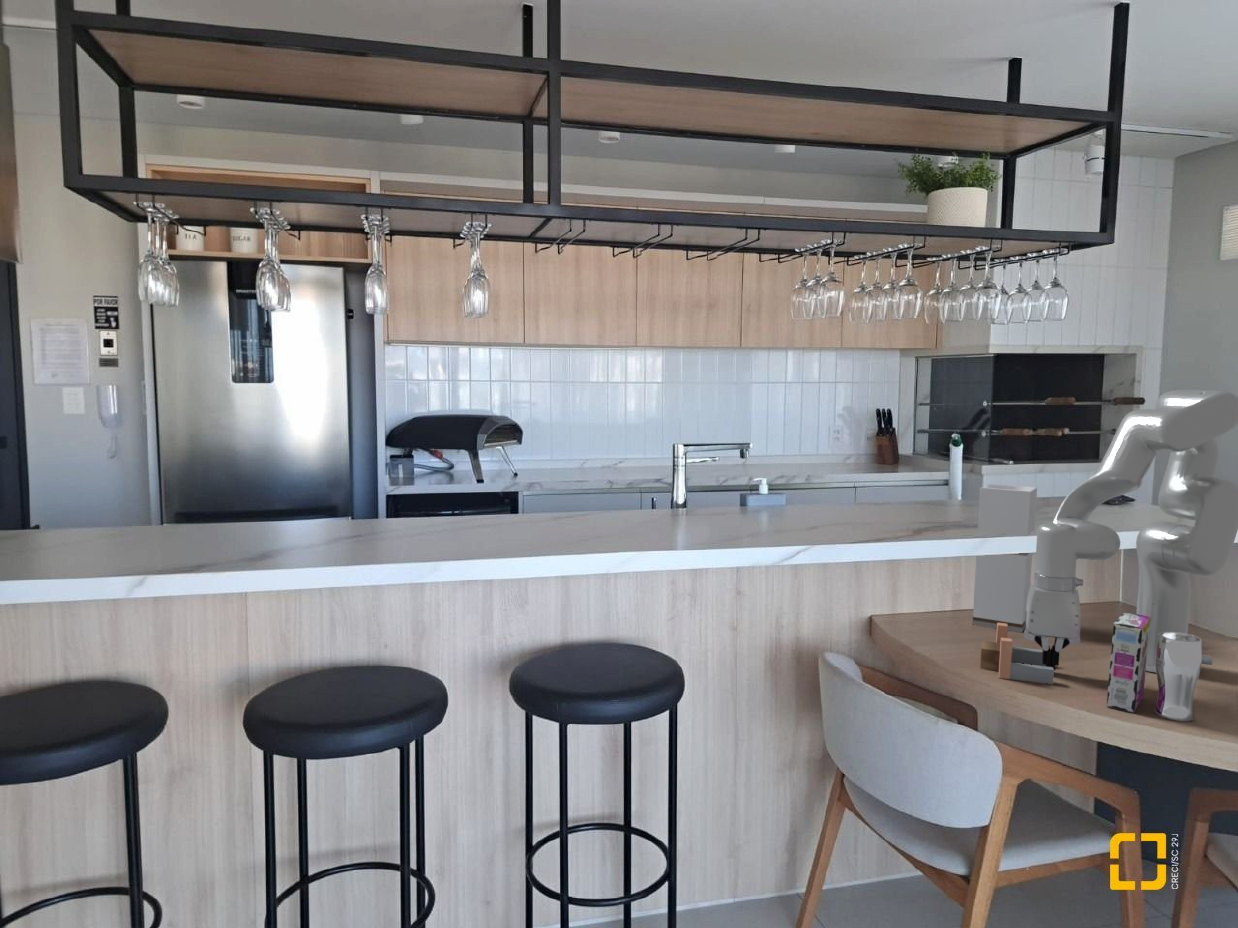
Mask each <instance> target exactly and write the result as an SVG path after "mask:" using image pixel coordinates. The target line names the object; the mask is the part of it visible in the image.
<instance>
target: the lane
mask: <svg viewBox="0 0 1238 928" xmlns="http://www.w3.org/2000/svg"><path fill="white" fill-rule="evenodd" d="M1008 631H1009V630H1008V625H1007V624H1006V623H997V629H996V636H995V637H996V639H995V643H1000V659H999V671H998V679H1003V678H1004V679H1005V680H1014V681H1015V680H1016V681H1023V682H1031V683H1039V684H1046V683H1048V684H1047V685H1054V677H1055V676H1054V673H1055V670H1054V669H1053V667H1046V666H1045V664H1042V653H1043V649H1037V648H1036V649H1035V648H1026V647H1020V646H1019V647H1018V646H1013V640H1012V638H1008ZM1011 653H1012V662H1011ZM1014 662H1016V663H1014ZM1022 663H1024V664H1022ZM1031 664H1032V665H1031Z"/></svg>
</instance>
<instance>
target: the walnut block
mask: <svg viewBox="0 0 1238 928" xmlns="http://www.w3.org/2000/svg"><path fill="white" fill-rule="evenodd" d="M999 659H1000V643H996V641H985V640H981V650H980V665H979V666H980V667H979V668H980V669H984V670H991V671H996V672H997V671H998V672H999ZM1011 662H1012V653H1011ZM1012 663H1013V662H1012Z"/></svg>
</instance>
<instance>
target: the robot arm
mask: <svg viewBox="0 0 1238 928" xmlns="http://www.w3.org/2000/svg"><path fill="white" fill-rule="evenodd" d="M1237 425H1238V395H1236V394H1235V393H1232V392H1230V391H1228V390H1227V391H1225V390H1215V389H1213V390H1211V389H1209V390H1208V389H1207V390H1205V389H1176V390H1170V391H1167V392H1164V393H1162V394H1161V395H1160V396H1158V398H1157V400H1156V403H1155V409H1154V408H1153V409H1152V408H1142V409H1141V408H1139V409H1136V410H1135V409H1134V410H1132V411H1129V412H1128V413H1126V414H1125V416H1124V417H1123V418H1122V420H1121V422H1120V424H1119V425H1118V428H1117V429H1116V431H1115V433H1114V435H1113V438H1112V439H1111V441H1110V442H1111V443H1110V445H1109V446H1108V448H1107V450H1106V451H1105V454H1104V457H1103V458H1102V460H1101V462H1100V464H1099V466H1098V468H1097V470H1096V471H1095V472H1094V473H1093V474H1092V475H1090V476H1089V477H1087V478H1085V479H1084V480H1083V481H1082V482H1080V483H1079V484H1078V485H1077V486H1076V487H1075V488H1073V489H1072V490H1071V491H1070V492H1069V493H1068V495H1067V496H1066V497H1065V498H1064V499H1063V501H1062V502H1061V504H1060V505H1059V508H1058V510H1057V512H1056V514H1055V515H1054V518H1053V520H1052V522H1047V523H1043V524H1040V525H1039V526H1038V528H1037V532H1036V545H1035V546H1036V550H1035V566H1034V567H1035V569H1034V572H1035V573H1034V585H1030V589H1029V593H1028V598H1027V604H1026V613H1025V629H1024V630H1023V637H1024V639H1026V640H1029V641H1033V642H1035V643H1037V644H1038V645H1039V646H1040V647H1041V648H1042V649H1041V650H1043V653H1042V664H1045V666H1046V667H1053V669H1054V671H1056V666H1059V665H1060V664H1059V663H1060V652H1062V650H1063V649H1064V648H1065V649H1066V647H1067V646H1070V645H1078V644H1081V642H1082V641H1081V605H1080V604H1081V602H1080V596H1079V590H1078V589H1076V588H1077V587H1082V586H1084V579H1082V578H1078V577H1077V576H1076V573H1077V560H1078V559H1080V560H1090V561H1106V560H1109V559H1111V558H1112V557H1114V556H1115V555H1117V554H1118V552H1119V550H1120V548H1121V538H1120V536H1119V534H1118V533H1117V531H1116V530H1114V529H1113V528H1111V527H1109V526H1107V525H1104V524H1101V523H1095V522H1093V521H1088V519H1089V517H1090V516H1091V515H1092V513H1093V512H1094V511H1095V510H1096V509H1097V508H1098V507H1099V506H1100V505H1102V504H1103V503H1105V502H1107V501H1109V500H1111V499H1114V498H1116V497H1121V496H1124V495H1126V494H1128V493H1131V492H1135V491H1136V490H1138V489H1139V488H1140V487H1141V486H1142V484H1143V482H1144V480H1145V477H1146V476H1147V474H1148V472H1149V470H1150V468H1151V466H1152V464H1153V462H1154V459H1155V457H1156V456H1157V454H1158V452H1168V453H1169V452H1170V455H1169V459H1168V463H1167V466H1166V469H1165V473H1164V476H1163V479H1162V483H1161V485H1160V488H1159V493H1158V499H1157V504H1158V507H1159V510H1161V511H1162V512H1163V513H1165V514H1167V515H1169V516H1173V517H1176V518H1179V519H1180V518H1181V519H1184V520H1185V519H1186V520H1191V521H1194V525H1193V526H1189V525H1187V524H1182V523H1177V522H1171V521H1163V520H1161V521H1160V520H1159V521H1154V522H1150V523H1148V524H1145V526H1143V527H1142V528H1141V529H1140V530H1139V531H1138V534H1137V536H1136V542H1135V543H1136V545H1135V547H1136V548H1135V549H1136V556H1137V563H1138V588H1137V589H1138V590H1137V600H1136V601H1137V603H1136V613H1135V614H1138V615H1143V616H1148V617H1151V620H1150V630H1149V641H1148V651H1147V660H1146V672H1150V673H1153V674H1154V673H1155V674H1157V672H1156V650H1157V644H1158V638H1159V633H1160V632H1165V631H1171V632H1181V633H1186V634H1189V633H1188V631H1189V620H1190V619H1189V617H1190V608H1191V607H1190V606H1191V599H1192V598H1191V596H1192V586H1191V581H1190V578H1189V575H1188V573H1189V574H1192V575H1196V576H1197V575H1198V576H1202V577H1209V576H1214V575H1216V574H1218V573H1220V572H1221V571H1222V570H1223V569H1224V567H1225V566H1226V564H1227V563H1228V561H1229V558H1230V555H1231V552H1232V549H1233V547H1234V543H1235V540H1236V537H1237V533H1238V485H1237V484H1236V483H1234V482H1233V481H1232V480H1229V479H1227V478H1222V477H1215V473H1216V468H1217V465H1218V461H1219V448H1218V444H1217V442H1216V438H1218V437H1220V436H1223V435H1225V434H1227V433H1228V432H1230V431H1231V430H1233V429H1234V428H1235V427H1236V426H1237ZM1048 638H1054V642H1053V645H1052V646H1050V645H1049V639H1048ZM1213 662H1214V661H1213V656H1212V655H1206V654H1202V659H1201V665H1207V666H1208V665H1209V666H1212V665H1213Z"/></svg>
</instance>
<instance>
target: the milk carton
mask: <svg viewBox="0 0 1238 928" xmlns="http://www.w3.org/2000/svg"><path fill="white" fill-rule="evenodd" d="M1150 620H1151V617H1148V616H1143V615H1138V614H1136V613H1129V612H1122V613H1121V615H1120V616H1119V617H1118V618H1117V619H1116V620H1115V621H1114V622H1113V628H1112V629H1113V630H1112V639H1111V641H1112V642H1111V651H1110V662H1109V663H1110V664H1109V672H1108V673H1109V674H1108V685H1107V697H1106V707H1107V708H1111V709H1114V710H1119V711H1124V712H1129V713H1133V714H1134V713H1135V712H1136V710H1137V708H1138V707H1139V704H1140V702H1141V701H1142V700H1143V697H1144V695H1145V694H1144V693H1145V692H1144V691H1145V683H1146V682H1145V680H1146V672H1147V671H1146V660H1147V651H1148V641H1149V630H1150Z"/></svg>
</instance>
